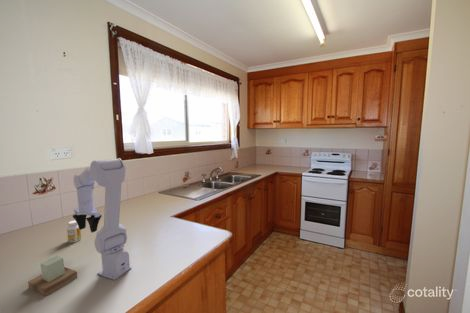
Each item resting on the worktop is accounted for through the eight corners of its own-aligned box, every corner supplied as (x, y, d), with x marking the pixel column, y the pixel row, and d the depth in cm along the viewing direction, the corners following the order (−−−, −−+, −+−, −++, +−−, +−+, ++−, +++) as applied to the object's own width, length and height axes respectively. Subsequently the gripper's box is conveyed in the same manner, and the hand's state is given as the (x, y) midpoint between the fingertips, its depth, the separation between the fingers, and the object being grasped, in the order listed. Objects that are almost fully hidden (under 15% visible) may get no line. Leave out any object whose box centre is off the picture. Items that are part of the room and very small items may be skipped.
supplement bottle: (79, 236, 114) (77, 218, 113) (82, 239, 110) (81, 221, 109) (66, 240, 110) (65, 222, 109) (70, 244, 106) (68, 224, 105)
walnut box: (77, 278, 82) (76, 271, 81) (46, 297, 73) (45, 289, 72) (60, 272, 86) (60, 265, 85) (28, 289, 76) (28, 281, 76)
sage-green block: (65, 273, 80) (63, 258, 79) (48, 282, 76) (46, 265, 75) (58, 270, 82) (56, 255, 81) (42, 279, 77) (40, 263, 76)
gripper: (65, 201, 95) (68, 231, 97) (87, 205, 90) (90, 236, 91) (82, 196, 102) (84, 224, 103) (103, 200, 96) (105, 229, 98)
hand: (88, 230), depth 98 cm, fingers open, 7 cm apart
